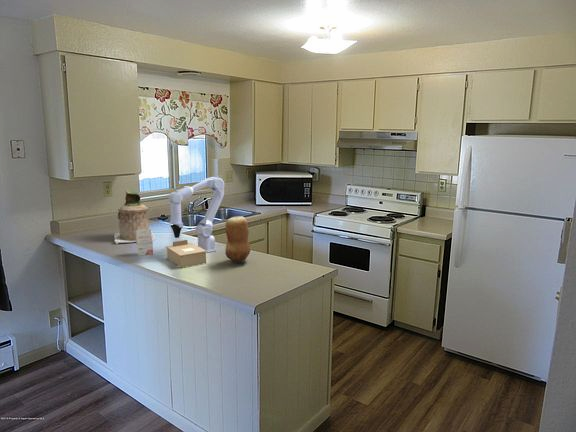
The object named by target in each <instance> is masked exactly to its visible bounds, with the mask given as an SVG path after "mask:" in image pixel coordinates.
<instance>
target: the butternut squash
mask: <svg viewBox="0 0 576 432" xmlns="http://www.w3.org/2000/svg"><path fill="white" fill-rule="evenodd" d="M225 234H226V238H227V242H226V245H225V256H226V258H227V259H228V260H229V261H232V262H233V263H235V264H237V263H238V262H241V263H243V262H245V261H246V259H247V258H248V257H249V255H250V253H251V246H250V242H249V225H248V221H247V218H246V217H244V216H243V215H241V216H239V215H238V216H232V217H230V218H227V220H226V221H225Z"/></svg>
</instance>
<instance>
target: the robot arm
mask: <svg viewBox="0 0 576 432" xmlns="http://www.w3.org/2000/svg"><path fill="white" fill-rule="evenodd" d="M225 185H226V183H225V182H224V180H223V179H222V178H220V177H215V176H210V177H207V178H204V179H203V180H201V181H199V182H197V183H196V184H194V185H192V186H189V185H185V186H183V187H182V188H180V189H176V190H175V191H173V192H172V191H171V192H170V193H169V195H168V197H167V199H168V201H169V208H170V209H169V210H170V212H169V213H170V220H169V221H168V224H170V227H171V228H170V229H171V230H172V232H173V236H174V238H175V239H179V238H180V236H181V231H182V228H183V227H184V223H183V221H182V204H181V202H182V201H183V200H185V199H187V198H190V197H192V196H194V193H195V192H197V191H200V190H203V189H205V188H210V189H211V190H212V192H213V197H212V199H211V201H210V203H209V206H208V209H207V210H206V213H205V214H204V217H203V219H202V220H200V222H199V223H198V224H197V225H196V227H195V231H196V233H197V246H199V247H200V248H202V249H204V250H206V251H207V253H210V252H211V253H213V252H216V250H217V249H216V239H215V236H214V235H212V234H213V233H212V232H213V227H214V226H213V222H214V219H215V217H216V214H217V212H218V210H219V208H220V206H221V203H222V201H223V198H224V196H225Z"/></svg>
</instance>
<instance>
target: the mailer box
mask: <svg viewBox="0 0 576 432" xmlns="http://www.w3.org/2000/svg"><path fill="white" fill-rule="evenodd" d="M166 255H167V257H166V258H168V259H167V260H169V261H170V260H171V261H170V262H172V263H173V262H174V263H173V264H175V265H176V264H177V265H178V267H179V266H180V267H184V268H187V267H186V266H189V267H193V266H192V265H195V266H199V264H200V265H204V264H203V263H205V264H207V253H206V252H204V253H198V254H192V255H186V256H179V255H177V254H176V253H174V252H172V251H171V250H169V249H168V248H166ZM177 265H176V266H177Z"/></svg>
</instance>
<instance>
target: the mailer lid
mask: <svg viewBox="0 0 576 432" xmlns="http://www.w3.org/2000/svg"><path fill="white" fill-rule="evenodd" d="M165 248H166V249H167V248H168V249H169V250H171V251H172V252H174V253H176V254H177V255H179V256H186V255H192V254H198V253H204V252H207V251H206V250H204V249H202V248H200V247H199V246H198V244H194V243H193V242H188V239H182V240H176V241H172V245H167V246H166V247H165ZM207 253H208V252H207Z"/></svg>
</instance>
